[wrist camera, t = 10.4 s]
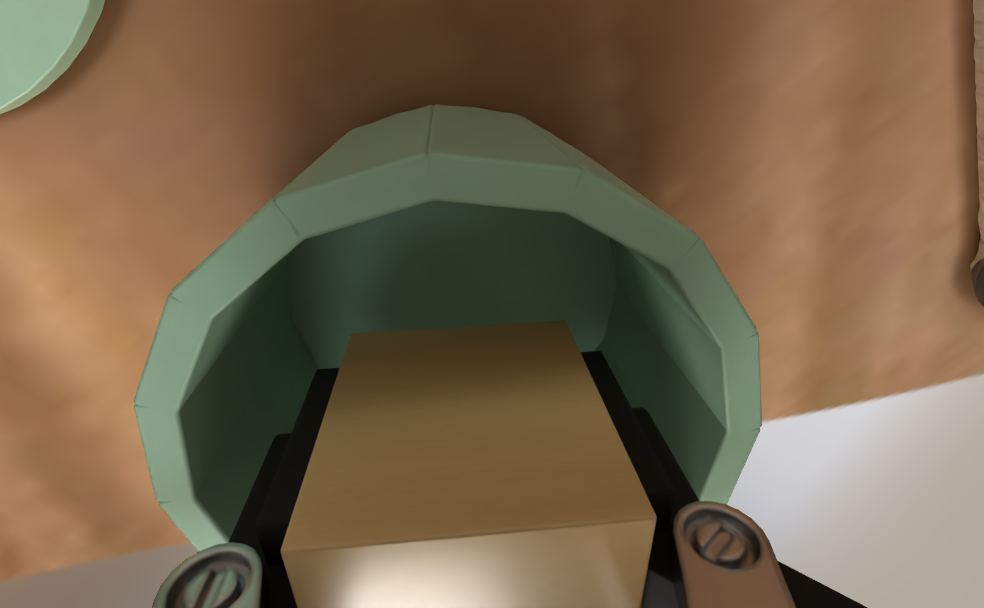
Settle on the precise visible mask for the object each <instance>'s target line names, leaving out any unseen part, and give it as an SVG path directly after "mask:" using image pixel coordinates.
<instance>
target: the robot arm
mask: <svg viewBox="0 0 984 608" xmlns="http://www.w3.org/2000/svg"><path fill="white" fill-rule="evenodd" d="M580 353H581V355H582V357H583V359H584V362H585V364H586V366H587V368H588V370H589V372H590V374H591V377H592V379H593V381H594V383H595V385H596V387H597V389H598V392H599V394H600V396H601V398H602V400H603V402H604V405H605V407H606V409H607V411H608V413H609V415H610V417H611V420H612V422H613V424H614V426H615V428H616V430H617V432H618V435H619V437H620V439H621V441H622V443H623V445H624V448H625V450H626V452H627V454H628V456H629V458H630V460H631V463H632V465H633V467H634V469H635V471H636V473H637V475H638V478H639V480H640V482H641V484H642V486H643V488H644V490H645V493H646V495H647V497H648V499H649V501H650V503H651V506H652V508H653V510H654V512H655V514H656V517H657V519H656V525H655V530H654V536H653V542H652V547H651V553H650V558H649V564H648V570H647V575H646V581H645V586H644V592H643V598H642V603H641V608H867V607H865V606H863V605H861V604H860V603H858V602H856V601H854V600H852V599H850V598H848V597H846V596H844V595H842V594H840V593H838V592H836V591H835V590H832V589H830V588H829V587H827V586H825V585H823V584H821V583H819V582H817V581H815V580H813V579H811V578H809V577H807V576H805V575H803V574H802V573H800V572H798V571H796V570H794V569H792V568H790V567H788V566H786V565H784V564H782V563H780V562H779V561H777V559H776V557H775V554H774V552H773V549H772V547H771V544H770V542H769V540H768V538H767V537H766V535H765V533H764V532H763V530H762V529H761V528H760V527H759V526H758V525H757V524H756V523H755V522H754V521H753V520H752V519H751V518H750V517H748V516H747V515H745V514H744V513H742V512H741V511H739V510H738V509H735V508H733V507H730V506H728V505H726V504H722V503H718V502H713V501H699V499H698V497H697V495H696V494H695V492H694V490H693V489H692V487H691V485H690V483H689V482H688V480H687V478H686V476H685V475H684V473H683V471H682V469H681V468H680V466H679V464H678V463H677V461H676V459H675V457H674V456H673V454H672V452H671V450H670V449H669V447H668V445H667V443H666V442H665V440H664V438H663V437H662V435H661V433H660V431H659V430H658V428H657V426H656V424H655V423H654V421H653V419H652V417H651V416H650V414H649V413H648V411H647V410H646V409H645V408H643V407H639V408H631V406H630V404H629V402H628V400H627V398H626V396H625V395H624V393H623V391H622V389H621V387H620V385H619V383H618V381H617V380H616V378H615V376H614V374H613V372H612V370H611V368H610V367H609V365H608V363H607V361H606V359H605V357H604V355H603V354H602V352H601V351H589V352H580ZM338 371H339V368H328V369H318V370H317V371H316V372H315V375H314V377H313V380H312V382H311V385H310V388H309V390H308V393H307V395H306V398H305V400H304V403H303V405H302V408H301V410H300V413H299V415H298V418H297V420H296V423H295V426H294V428H293V431H292V433H287V434H278V435H277V436H275V438H274V440H273V441H272V443H271V446H270V448H269V450H268V453H267V455H266V457H265V459H264V462H263V464H262V466H261V469H260V471H259V473H258V475H257V478H256V480H255V482H254V485H253V487H252V489H251V492H250V494H249V496H248V498H247V501H246V503H245V505H244V508H243V510H242V512H241V514H240V517H239V519H238V521H237V524H236V526H235V528H234V531H233V533H232V535H231V537H230V540H229V542H228V543H223V544H217V545H214V546H211V547H209V548H206V549H203V550H201V551H199V552H197V553H196V554H194V555H192V556H191V557H189V558H187V559H186V560H184V561H183V562H182V563H181V564H180V565H179V566H178V567H176V568H175V569H174V570H173V571H172V572H171V573H170V574H169V576H168V577H167V578H166V579H165V581H164V582H163V583H162V585H161V586H160V588H159V591H158V593H157V595H156V597H155V599H154V602H153V606H152V608H298V607H297V604H296V601H295V597H294V594H293V591H292V588H291V584H290V581H289V578H288V575H287V571H286V568H285V565H284V561H283V558H282V555H281V547H282V544H283V541H284V538H285V535H286V532H287V529H288V526H289V523H290V520H291V516H292V513H293V510H294V507H295V504H296V501H297V498H298V495H299V492H300V489H301V486H302V483H303V479H304V476H305V473H306V470H307V467H308V464H309V461H310V458H311V455H312V452H313V449H314V446H315V442H316V439H317V436H318V433H319V430H320V427H321V424H322V421H323V418H324V415H325V412H326V409H327V405H328V402H329V399H330V396H331V393H332V390H333V387H334V384H335V381H336V378H337V375H338Z"/></svg>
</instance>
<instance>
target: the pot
mask: <svg viewBox="0 0 984 608" xmlns="http://www.w3.org/2000/svg"><path fill="white" fill-rule="evenodd" d="M562 320H564V321H566V323H567V325H568V327H569V329H570V331H571V334H572V336H573V338H574V340H575V342H576V344H577V346H578V349H579V351H580V352H589V351H601V352H602V354H603V355H604V357H605V359H606V361H607V363H608V365H609V367H610V368H611V370H612V372H613V374H614V376H615V378H616V380H617V381H618V383H619V385H620V387H621V389H622V391H623V393H624V395H625V396H626V398H627V400H628V402H629V404H630V406H631V408H639V407H643V408H645V409H646V410H647V411H648V413H649V414H650V416H651V417H652V419H653V421H654V423H655V424H656V426H657V428H658V430H659V431H660V433H661V435H662V437H663V438H664V440H665V442H666V443H667V445H668V447H669V449H670V450H671V452H672V454H673V456H674V457H675V459H676V461H677V463H678V464H679V466H680V468H681V469H682V471H683V473H684V475H685V476H686V478H687V480H688V482H689V483H690V485H691V487H692V489H693V490H694V492H695V494H696V495H697V497H698V499H699V501H713V502H718V503H722V504H726V505H727V503H728V501H729V498H730V496H731V494H732V491H733V489H734V487H735V485H736V483H737V481H738V478H739V476H740V474H741V471H742V469H743V467H744V465H745V463H746V461H747V458H748V456H749V454H750V451H751V449H752V447H753V445H754V443H755V441H756V438H757V436H758V434H759V432H760V427H761V426H762V418H761V388H760V358H759V335H758V333H757V330H756V327H755V325H754V323H753V322H752V320H751V319H750V317H749V315H748V314H747V312H746V310H745V309H744V307H743V305H742V304H741V302H740V301H739V299H738V297H737V296H736V294H735V292H734V291H733V289H732V287H731V286H730V284H729V283H728V281H727V279H726V278H725V276H724V274H723V273H722V271H721V269H720V268H719V266H718V265H717V263H716V261H715V260H714V258H713V256H712V255H711V253H710V251H709V250H708V248H707V247H706V245H705V243H704V242H703V240H702V239H700V238H699V237H698V236H697V235H696V233H694V232H693V231H691V230H690V229H689V228H687V227H686V226H685V225H683V224H682V223H680V222H679V221H678V220H676V219H675V218H673V217H672V216H671V215H669V214H668V213H666V212H665V211H664V210H662V209H661V208H660V207H658V206H657V205H655V204H654V203H653V202H651V201H650V200H648V199H647V198H646V197H644V196H643V195H641V194H640V193H639V192H637V191H636V190H635V189H633V188H632V187H630V186H629V185H628V184H626V183H625V182H623V181H622V180H621V179H619V178H618V177H616V176H615V175H614V174H612V173H611V172H610V171H608V170H607V169H605V168H604V167H603V166H601V165H600V164H598V163H597V162H596V161H594V160H593V159H591V158H590V157H589V156H587V155H586V154H584V153H583V152H581V151H579V150H578V149H576V148H574V147H573V146H571V145H569V144H568V143H566V142H564V141H563V140H561V139H559V138H558V137H556V136H555V135H553V134H552V133H550V132H548V131H546V130H544V129H543V128H541V127H539V126H538V125H536V124H534V123H533V122H531V121H529V120H528V119H526V118H524V117H523V116H518V115H517V114H513V113H505V112H498V111H493V110H488V109H483V108H478V107H464V106H447V105H438V104H436V105H434V106H433V105H428V106H425V107H422V108H418V109H415V110H411V111H406V112H402V113H398V114H393V115H391V116H388V117H386V118H383V119H381V120H378V121H376V122H373V123H370V124H367V125H364V126H360V127H357V128H354V129H353V130H352V131H348V132H347V133H346V134H345V135H344V136H343V137H342V138H340V139H339V140H338V141H337V142H336V143H335V144H334V145H332V146H331V147H330V148H329V149H328V150H327V151H326V152H325V153H323V154H322V155H321V156H320V157H319V158H318V159H317V160H315V161H314V162H313V163H312V164H311V165H310V166H309V167H307V168H306V169H305V170H304V171H303V172H302V173H301V174H299V175H298V176H297V177H296V178H295V179H294V180H293V181H291V182H290V183H289V184H288V185H287V186H286V187H285V188H283V189H282V190H281V191H280V192H279V193H278V194H277V195H275V196H274V197H273V198H272V199H271V200H270V201H269V202H268V203H266V204H265V205H264V206H263V207H262V208H261V209H260V210H259V211H258V212H257V213H255V214H254V215H253V216H252V217H251V218H250V219H249V220H248V221H247V222H246V223H244V224H243V225H242V226H241V227H240V228H239V229H238V230H237V231H236V232H235V233H233V234H232V235H231V236H230V237H229V238H228V239H227V240H226V241H225V242H224V243H222V244H221V245H220V246H219V247H218V248H217V249H216V250H215V251H214V252H213V253H211V254H210V255H209V256H208V257H207V258H206V259H205V260H204V261H203V262H202V263H200V264H199V265H198V266H197V267H196V268H195V269H194V270H193V271H192V272H191V273H189V274H188V275H187V276H186V277H185V278H184V279H183V280H182V281H181V282H180V283H178V284H177V285H176V286H175V287H174V288H173V289H172V291H171V293H170V294H169V295H168V297H167V300H166V303H165V306H164V309H163V312H162V315H161V318H160V322H159V325H158V328H157V331H156V334H155V337H154V340H153V343H152V346H151V349H150V352H149V355H148V358H147V361H146V364H145V367H144V370H143V374H142V377H141V380H140V383H139V386H138V389H137V392H136V395H135V398H134V403H135V405H134V409H135V413H136V418H137V422H138V426H139V430H140V434H141V439H142V443H143V447H144V451H145V455H146V460H147V464H148V468H149V472H150V477H151V481H152V485H153V489H154V493H155V498H156V500H157V501H159V505H160V506H161V508H162V509H163V510H164V511H165V512H166V513H167V515H168V516H169V517H170V518H171V519H172V521H173V522H174V523H175V524H176V525H177V526H178V528H179V529H180V530H181V531H182V532H183V533H184V535H185V536H186V537H187V538H188V539H189V541H190V542H191V543H192V544H193V545H194V546H195V548H196V549H197V550H198V551H201V550H203V549H206V548H209V547H211V546H214V545H217V544H223V543H228V542H229V540H230V537H231V535H232V533H233V531H234V528H235V526H236V524H237V521H238V519H239V517H240V514H241V512H242V510H243V508H244V505H245V503H246V501H247V498H248V496H249V494H250V492H251V489H252V487H253V485H254V482H255V480H256V478H257V475H258V473H259V471H260V469H261V466H262V464H263V462H264V459H265V457H266V455H267V453H268V450H269V448H270V446H271V443H272V441H273V440H274V438H275V436H277V435H278V434H287V433H292V431H293V428H294V426H295V423H296V420H297V418H298V415H299V413H300V410H301V408H302V405H303V403H304V400H305V398H306V395H307V393H308V390H309V388H310V385H311V382H312V380H313V377H314V375H315V372H316V371H317V370H318V369H328V368H340V365H341V362H342V359H343V356H344V353H345V350H346V347H347V344H348V341H349V338H350V334H352V333H364V332H380V331H397V330H413V329H430V328H446V327H463V326H479V325H496V324H513V323H529V322H546V321H562Z"/></svg>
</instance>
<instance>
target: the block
mask: <svg viewBox="0 0 984 608" xmlns="http://www.w3.org/2000/svg"><path fill="white" fill-rule="evenodd" d="M656 519H657V517H656V514H655V512H654V510H653V508H652V506H651V503H650V501H649V499H648V497H647V495H646V493H645V490H644V488H643V486H642V484H641V482H640V480H639V478H638V475H637V473H636V471H635V469H634V467H633V465H632V463H631V460H630V458H629V456H628V454H627V452H626V450H625V448H624V445H623V443H622V441H621V439H620V437H619V435H618V432H617V430H616V428H615V426H614V424H613V422H612V420H611V417H610V415H609V413H608V411H607V409H606V407H605V405H604V402H603V400H602V398H601V396H600V394H599V392H598V389H597V387H596V385H595V383H594V381H593V379H592V377H591V374H590V372H589V370H588V368H587V366H586V364H585V362H584V359H583V357H582V355H581V353H580V351H579V349H578V346H577V344H576V342H575V340H574V338H573V336H572V334H571V331H570V329H569V327H568V325H567V323H566V321H564V320H562V321H546V322H529V323H513V324H496V325H479V326H463V327H446V328H430V329H413V330H397V331H380V332H364V333H352V334H350V338H349V341H348V344H347V347H346V350H345V353H344V356H343V359H342V362H341V365H340V368H339V371H338V375H337V378H336V381H335V384H334V387H333V390H332V393H331V396H330V399H329V402H328V405H327V409H326V412H325V415H324V418H323V421H322V424H321V427H320V430H319V433H318V436H317V439H316V442H315V446H314V449H313V452H312V455H311V458H310V461H309V464H308V467H307V470H306V473H305V476H304V479H303V483H302V486H301V489H300V492H299V495H298V498H297V501H296V504H295V507H294V510H293V513H292V516H291V520H290V523H289V526H288V529H287V532H286V535H285V538H284V541H283V544H282V547H281V555H282V558H283V561H284V565H285V568H286V571H287V575H288V578H289V581H290V584H291V588H292V591H293V594H294V597H295V601H296V604H297V607H298V608H641V603H642V598H643V592H644V586H645V581H646V575H647V570H648V564H649V558H650V553H651V547H652V542H653V536H654V530H655V525H656Z"/></svg>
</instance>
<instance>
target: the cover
mask: <svg viewBox="0 0 984 608" xmlns="http://www.w3.org/2000/svg"><path fill="white" fill-rule="evenodd" d="M104 3H105V0H0V114H2V113H5V112H7V111H10V110H12V109H14V108H17V107H19V106H21V105H22V104H24V103H26V102H27V101H29V100H30V99H32V98H33V97H35V96H36V95H38V94H40V93H41V92H43V91H44V90H46V89H47V88H48V87H49V86H50V85H51V84H52V83H53V82H54V81H55V80H56V79H57V78H58V77H60V76H61V75H62V74H63V73H64V72H65V71H66V70H67V69H68V68H69V66H70V65H71V64H72V62H73V61H74V60H75V58H76V57H77V56H78V54H79V53H80V51H81V50H82V49H83V47H84V46H85V45H86V43H87V41H88V39H89V37H90V35H91V33H92V31H93V29H94V27H95V25H96V23H97V21H98V19H99V17H100V15H101V13H102V10H103V6H104Z"/></svg>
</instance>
